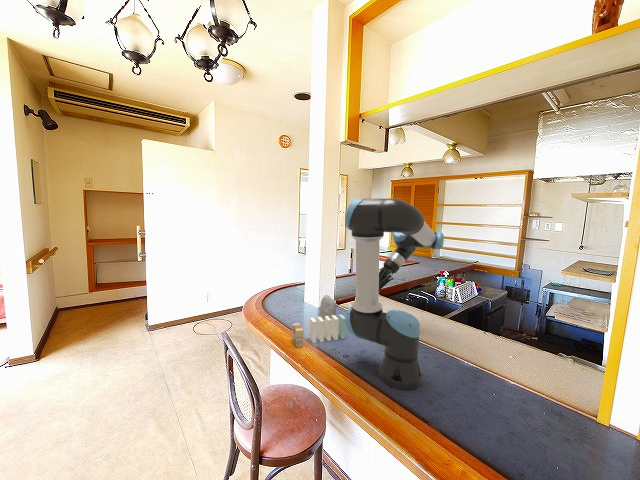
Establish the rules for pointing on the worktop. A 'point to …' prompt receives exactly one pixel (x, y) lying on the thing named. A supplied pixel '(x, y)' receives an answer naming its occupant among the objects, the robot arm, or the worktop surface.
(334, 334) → the domino
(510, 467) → the worktop surface
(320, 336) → the domino
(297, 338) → the end block
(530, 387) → the worktop surface
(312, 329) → the domino
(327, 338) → the domino
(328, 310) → the decorative stone
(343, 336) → the domino
